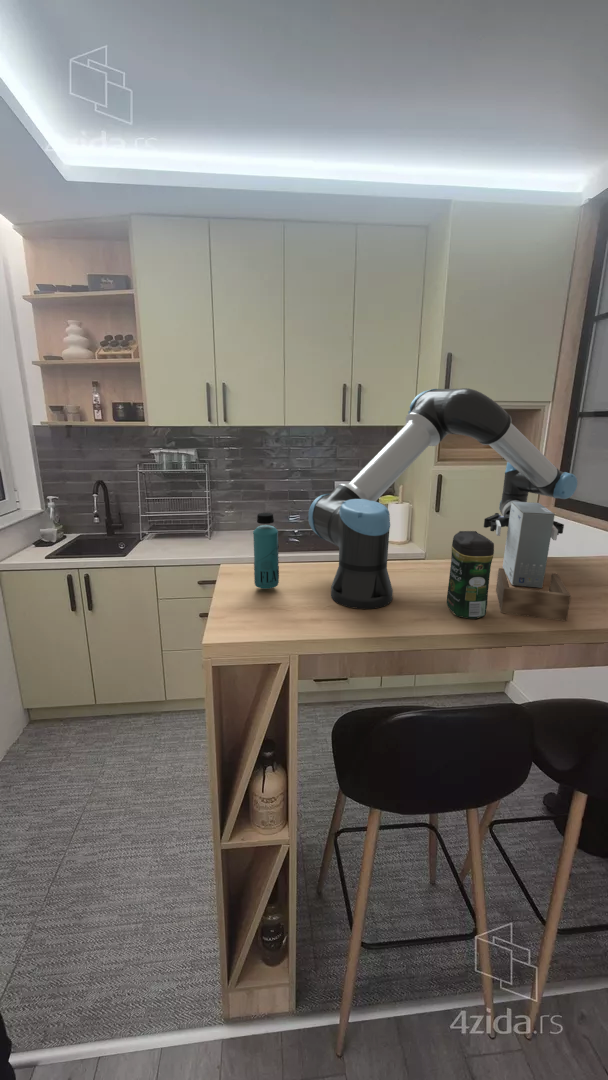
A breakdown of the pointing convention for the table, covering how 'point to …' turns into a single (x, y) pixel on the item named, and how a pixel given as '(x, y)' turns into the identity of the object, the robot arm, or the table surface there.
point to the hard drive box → (527, 543)
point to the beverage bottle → (266, 553)
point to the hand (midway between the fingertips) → (526, 533)
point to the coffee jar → (469, 574)
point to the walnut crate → (533, 599)
